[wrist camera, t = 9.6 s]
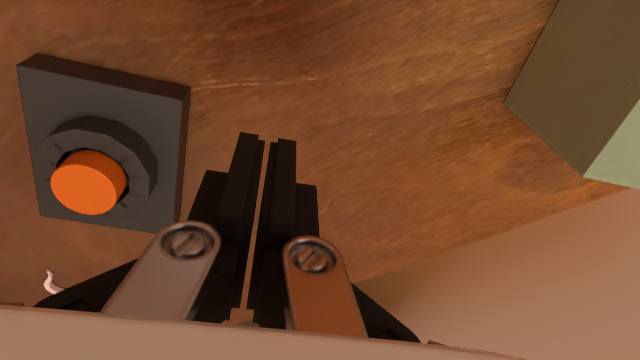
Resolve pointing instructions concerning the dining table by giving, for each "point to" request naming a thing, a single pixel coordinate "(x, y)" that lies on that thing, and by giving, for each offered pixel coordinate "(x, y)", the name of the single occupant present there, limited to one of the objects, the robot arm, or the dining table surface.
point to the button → (88, 182)
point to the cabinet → (586, 88)
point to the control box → (107, 136)
